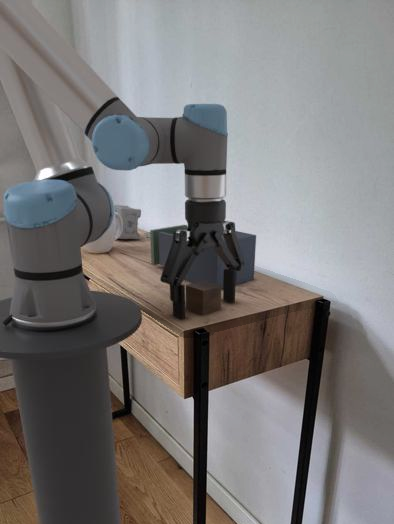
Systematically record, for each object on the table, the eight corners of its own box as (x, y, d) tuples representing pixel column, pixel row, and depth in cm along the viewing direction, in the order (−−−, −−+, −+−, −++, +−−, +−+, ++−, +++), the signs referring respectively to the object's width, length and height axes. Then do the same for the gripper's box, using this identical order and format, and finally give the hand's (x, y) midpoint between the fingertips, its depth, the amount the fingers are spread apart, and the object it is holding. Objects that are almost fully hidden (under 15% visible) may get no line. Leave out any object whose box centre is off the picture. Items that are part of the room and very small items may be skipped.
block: (202, 315, 94) (202, 290, 92) (185, 308, 97) (185, 284, 95) (220, 309, 97) (221, 285, 95) (203, 303, 100) (204, 280, 98)
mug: (111, 243, 151) (108, 199, 146) (135, 248, 145) (132, 203, 139) (71, 251, 141) (66, 205, 136) (95, 257, 135) (91, 209, 129)
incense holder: (142, 239, 157) (141, 206, 152) (120, 242, 152) (117, 208, 148) (128, 234, 164) (126, 202, 159) (105, 237, 159) (103, 204, 155)
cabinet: (174, 276, 118) (173, 232, 114) (211, 267, 126) (212, 226, 121) (216, 290, 108) (217, 243, 104) (253, 279, 116) (256, 235, 112)
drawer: (139, 260, 128) (137, 227, 124) (172, 253, 135) (171, 221, 131) (185, 275, 116) (185, 238, 112) (219, 267, 123) (220, 232, 119)
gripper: (237, 191, 98) (234, 291, 107) (137, 203, 83) (143, 318, 92) (265, 194, 93) (260, 299, 102) (164, 208, 78) (168, 329, 87)
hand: (205, 308), depth 97 cm, fingers open, 13 cm apart
